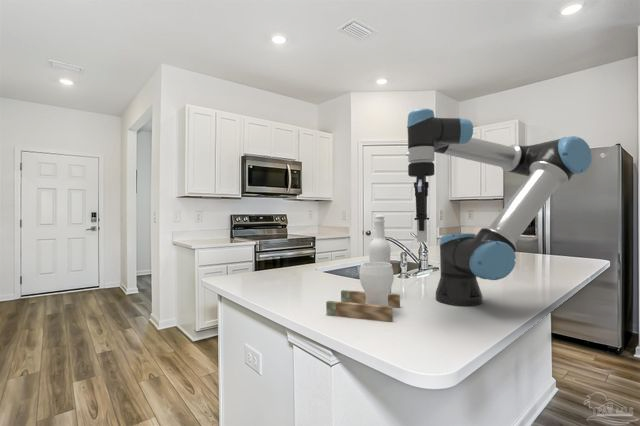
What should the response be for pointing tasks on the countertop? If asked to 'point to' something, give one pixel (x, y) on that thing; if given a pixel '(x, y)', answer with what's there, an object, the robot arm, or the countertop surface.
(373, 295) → the cup
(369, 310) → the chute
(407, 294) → the countertop surface
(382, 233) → the bottle
